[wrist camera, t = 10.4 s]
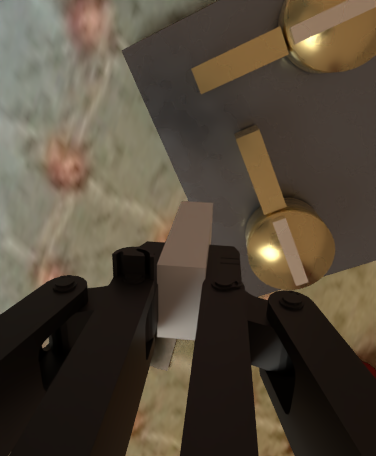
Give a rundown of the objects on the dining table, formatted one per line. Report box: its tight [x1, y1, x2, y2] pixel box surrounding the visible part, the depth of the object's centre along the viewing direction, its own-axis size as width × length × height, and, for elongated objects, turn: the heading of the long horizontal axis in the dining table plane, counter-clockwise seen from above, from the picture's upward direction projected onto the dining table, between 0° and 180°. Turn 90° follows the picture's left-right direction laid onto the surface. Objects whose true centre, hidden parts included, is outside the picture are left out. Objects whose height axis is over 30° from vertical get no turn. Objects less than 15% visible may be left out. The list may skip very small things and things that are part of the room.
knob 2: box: [235, 125, 335, 290], centre depth 26 cm, size 12×6×4 cm, turn 23°
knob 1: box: [191, 0, 376, 94], centre depth 22 cm, size 12×6×4 cm, turn 113°
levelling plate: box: [122, 0, 376, 297], centre depth 26 cm, size 22×26×2 cm
